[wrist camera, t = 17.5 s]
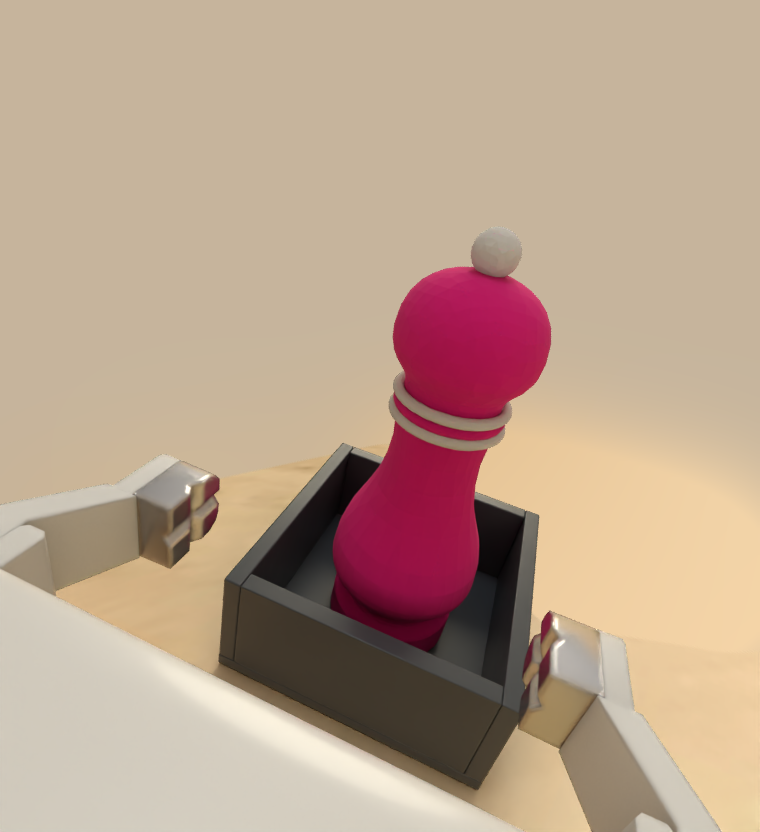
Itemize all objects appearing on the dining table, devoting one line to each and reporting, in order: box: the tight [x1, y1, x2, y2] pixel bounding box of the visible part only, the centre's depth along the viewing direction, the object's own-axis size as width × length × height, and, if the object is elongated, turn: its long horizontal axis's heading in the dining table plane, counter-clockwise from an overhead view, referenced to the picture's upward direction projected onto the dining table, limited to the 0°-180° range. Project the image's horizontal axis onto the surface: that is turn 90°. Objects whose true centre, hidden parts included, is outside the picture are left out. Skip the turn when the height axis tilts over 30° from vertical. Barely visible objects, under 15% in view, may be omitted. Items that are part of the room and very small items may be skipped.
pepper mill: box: [331, 227, 551, 652], centre depth 22 cm, size 7×7×20 cm
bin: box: [219, 443, 539, 790], centre depth 26 cm, size 13×13×6 cm
